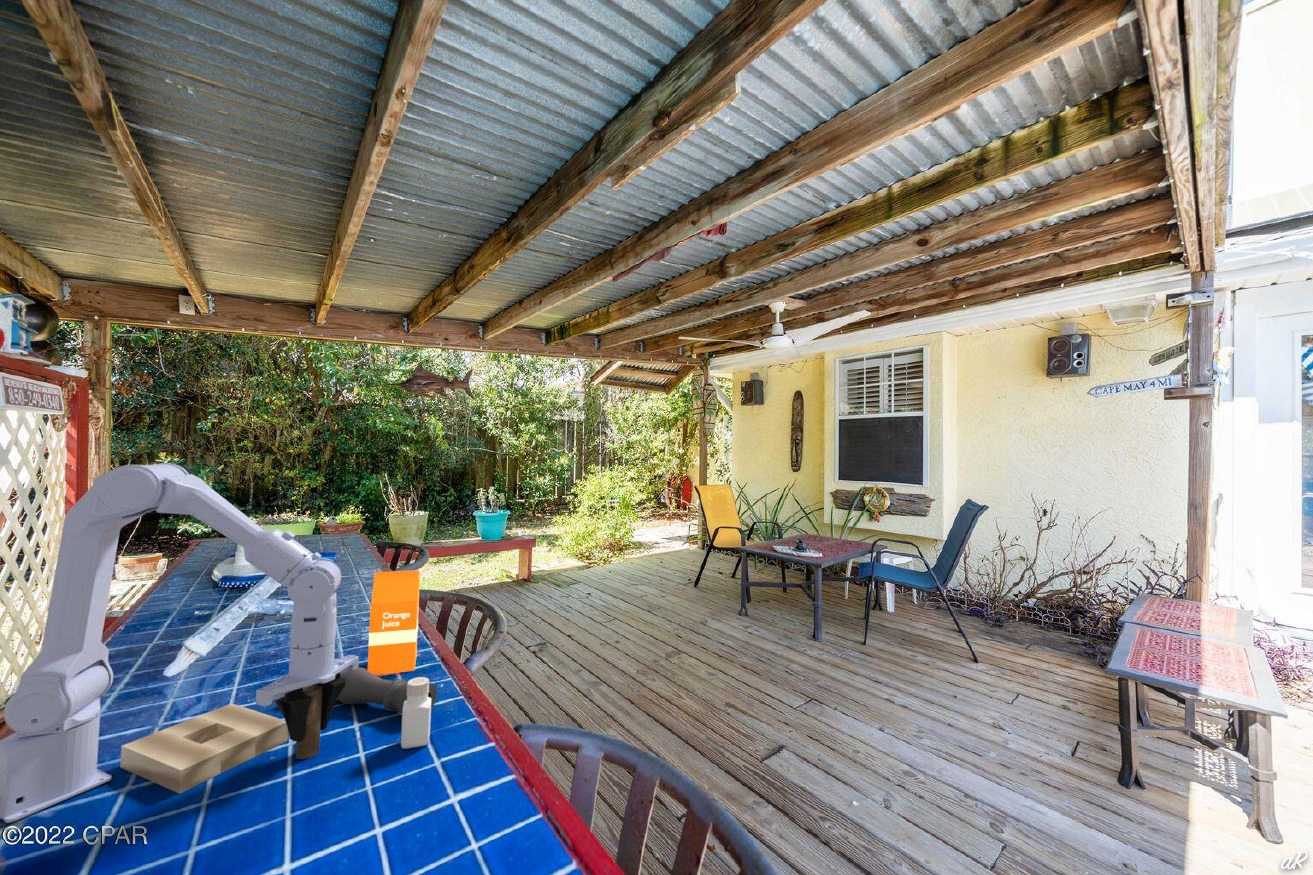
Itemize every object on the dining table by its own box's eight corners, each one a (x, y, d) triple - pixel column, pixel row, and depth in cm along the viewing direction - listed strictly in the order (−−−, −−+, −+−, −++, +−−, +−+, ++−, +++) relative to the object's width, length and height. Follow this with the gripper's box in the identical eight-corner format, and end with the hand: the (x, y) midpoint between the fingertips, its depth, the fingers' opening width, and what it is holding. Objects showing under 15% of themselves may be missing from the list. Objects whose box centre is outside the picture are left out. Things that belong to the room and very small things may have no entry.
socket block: (179, 793, 69) (180, 770, 70) (120, 767, 75) (121, 745, 75) (287, 740, 82) (288, 721, 83) (230, 721, 88) (231, 703, 88)
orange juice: (414, 670, 110) (419, 574, 110) (366, 676, 107) (371, 576, 107) (416, 656, 117) (420, 566, 118) (371, 661, 114) (376, 568, 114)
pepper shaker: (402, 737, 85) (405, 677, 85) (429, 733, 86) (432, 674, 86) (400, 750, 81) (403, 688, 81) (428, 746, 82) (431, 684, 82)
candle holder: (303, 661, 96) (416, 685, 89) (331, 656, 102) (440, 678, 95) (294, 698, 95) (409, 725, 88) (324, 691, 100) (434, 715, 93)
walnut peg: (304, 761, 77) (307, 695, 78) (290, 756, 79) (294, 691, 79) (324, 750, 80) (327, 687, 81) (310, 745, 81) (313, 683, 82)
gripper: (281, 664, 72) (276, 766, 71) (373, 631, 85) (369, 717, 85) (248, 655, 74) (242, 753, 74) (342, 625, 88) (338, 708, 87)
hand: (308, 733), depth 79 cm, fingers closed on walnut peg, 3 cm apart
